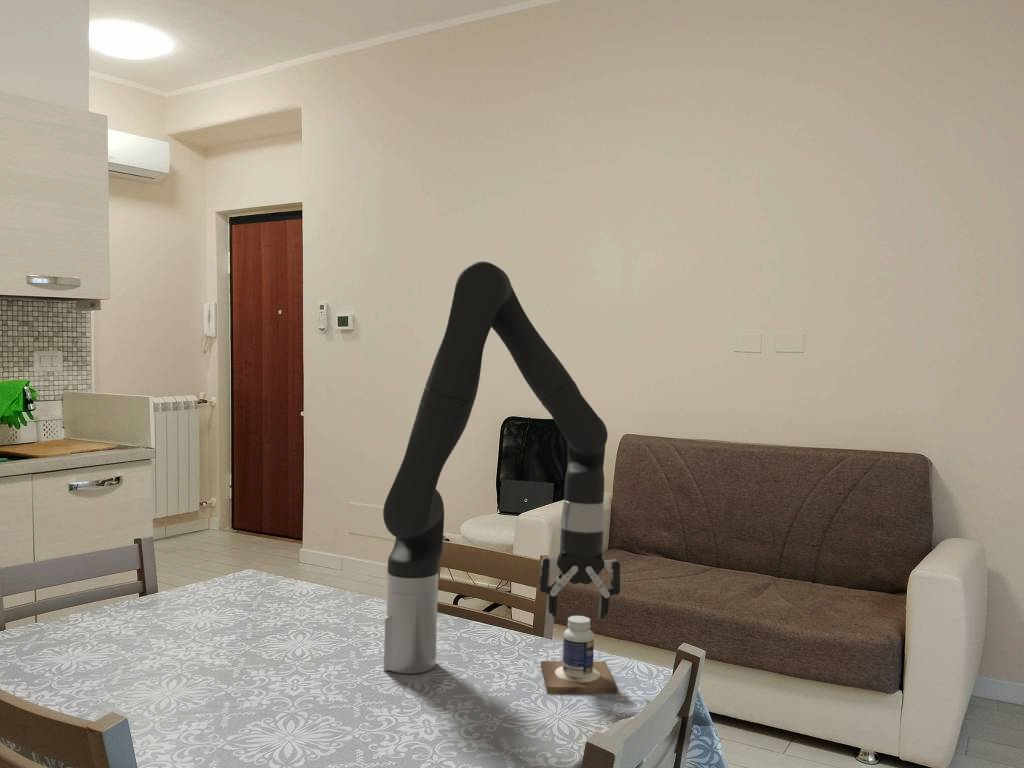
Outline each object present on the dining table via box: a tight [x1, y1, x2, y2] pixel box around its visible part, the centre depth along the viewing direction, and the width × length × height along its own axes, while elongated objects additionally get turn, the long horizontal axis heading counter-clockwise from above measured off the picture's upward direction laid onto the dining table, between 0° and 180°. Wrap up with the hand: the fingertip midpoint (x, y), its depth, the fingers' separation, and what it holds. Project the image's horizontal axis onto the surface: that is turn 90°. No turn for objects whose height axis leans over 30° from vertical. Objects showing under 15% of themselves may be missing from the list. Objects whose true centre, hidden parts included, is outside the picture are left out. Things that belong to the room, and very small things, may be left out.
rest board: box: [540, 660, 618, 694], centre depth 142 cm, size 12×12×1 cm
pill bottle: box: [562, 615, 595, 678], centre depth 142 cm, size 5×5×10 cm
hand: (577, 616), depth 142 cm, fingers open, 8 cm apart
